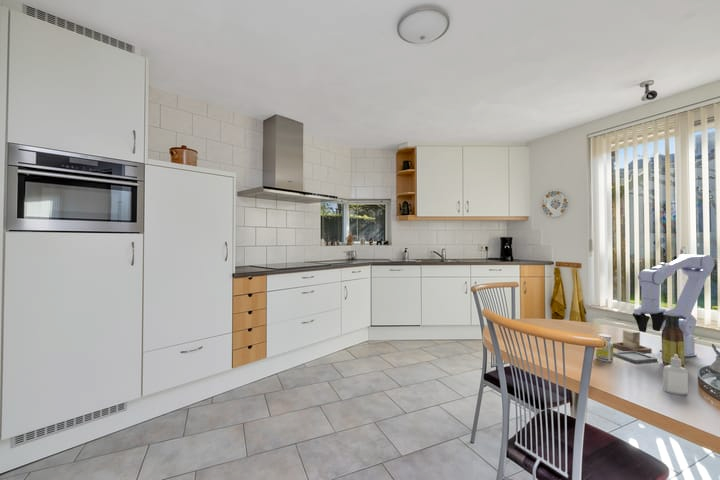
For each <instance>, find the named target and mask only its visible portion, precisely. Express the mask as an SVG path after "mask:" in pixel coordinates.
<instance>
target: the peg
mask: <svg viewBox="0 0 720 480" xmlns="http://www.w3.org/2000/svg"><path fill="white" fill-rule="evenodd" d="M622 332H623V334H622V342H623V346H625V347H628V348H631V349H640V344H641V343H640V342H641V341H640V340H641V333H640V332H641V331H636V330H632V329H623V331H622Z"/></svg>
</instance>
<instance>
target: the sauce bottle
mask: <svg viewBox="0 0 720 480" xmlns="http://www.w3.org/2000/svg"><path fill="white" fill-rule="evenodd" d="M665 319H666V324H665V327H664V329H663V328H662V331H661V349H662V351H661V360H662V364H663V366H664V367H665V366H667V365H671V358H673V357H674V354H677V355H678V358H679V359H681V367H683V368H685V357H684V340H683V332H682V331H681V329H680V328H679V319H680V318H679V315H675V314H665Z"/></svg>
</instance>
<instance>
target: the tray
mask: <svg viewBox="0 0 720 480" xmlns="http://www.w3.org/2000/svg"><path fill="white" fill-rule="evenodd" d="M614 356H615V357H617V358H620V359H623V360H625V361H628V362H631V363H633V364H641V363H642V364H643V363H653V362H654V363H655V362H658V358H657V357H654V356H651V355H649V354H646V353H639V352H636V351H624V350H621V351H613V357H614Z"/></svg>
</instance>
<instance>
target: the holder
mask: <svg viewBox="0 0 720 480" xmlns="http://www.w3.org/2000/svg"><path fill="white" fill-rule="evenodd" d="M612 343H613V348H615V349H618V350H621V351H636V352H639V353H642V354H646V353H648V354H649V353H652V351H653V349H652V348H650V347H647V346H644V345H640V349H631V348H628V347H625V346H623V341H618V342H612Z"/></svg>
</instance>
